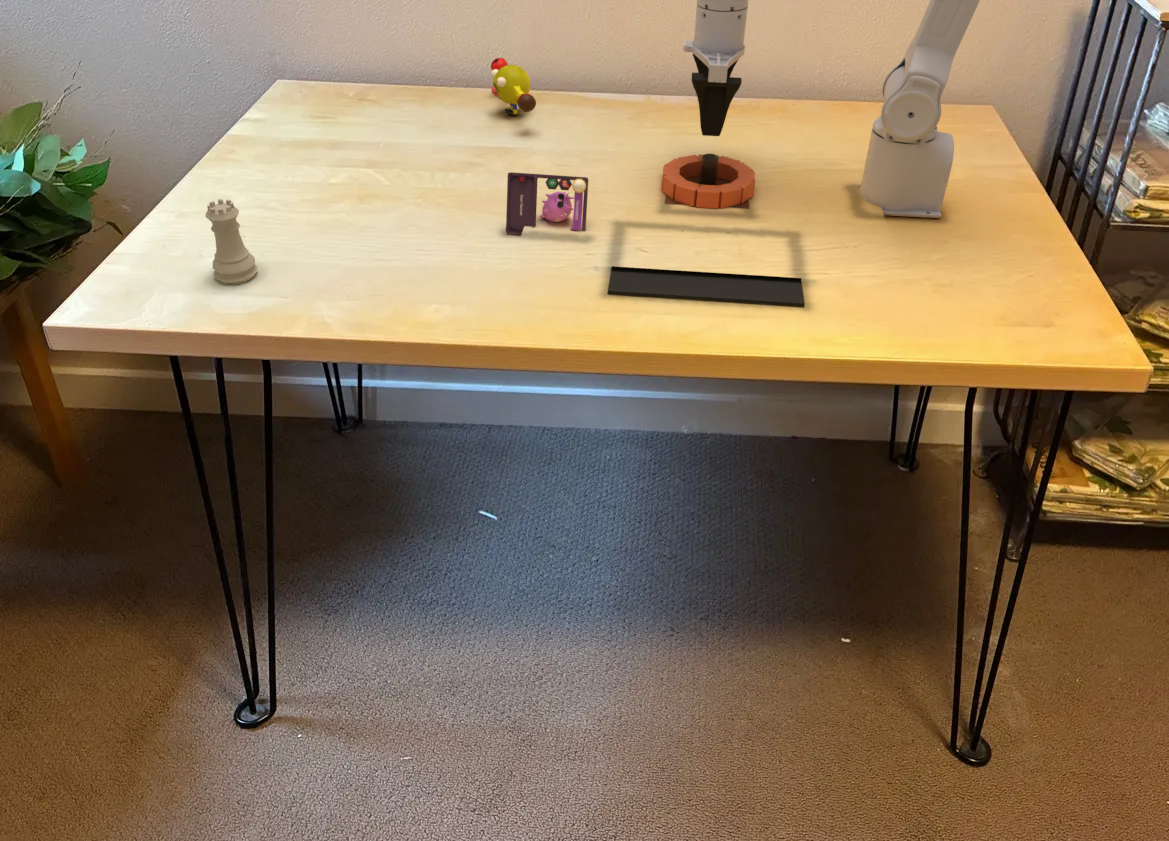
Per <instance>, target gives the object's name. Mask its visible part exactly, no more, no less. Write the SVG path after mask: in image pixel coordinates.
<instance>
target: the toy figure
mask: <svg viewBox="0 0 1169 841" xmlns="http://www.w3.org/2000/svg"><path fill="white" fill-rule="evenodd" d="M490 64H491V65H490V70H491V72H490V76H491V78H493V81H492V82H493V83H492V87H491V90H490V91H491V93H492V95H493V96H494V97H497V98H498V99H499V100H500V101H502V102H503V103H505V104H508V105H509V108H504V111H505V112H506V113H507V116H510V117H517V116H519V113H518V109H519V110H520V111H521V112H523V113H530V112H532V111H533V110H534V109H535V108H536V106H537V101H536V98H535V97H534V96H533V95H532V94H530V90H531V79H530V76H529V74H528V73H527V71H526V70H525V69H524V68H523V67H521V66H519V65H516V64H509V63H508V61H507V60H506V59H504V58H503V57H497V58H495V59H493V60H492V62H491V63H490Z"/></svg>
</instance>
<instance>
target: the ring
mask: <svg viewBox="0 0 1169 841" xmlns="http://www.w3.org/2000/svg"><path fill="white" fill-rule="evenodd" d="M702 155H703V154H701V153H699V154H698V155H697V154H690V155H685V156H679V157H677V158H673V159H672V160H670V161H669V162H667V163H665V164H664V165H663V167H662V176H661V177H662V179H661V192H663V194H666V195H667V196H669V197H670V198H671V199H672V200H674V199H675V201H677V202H680V203H683V204H686V205H685V206H690V207H695V208H703V209H719V208H720V209H723V208H725V207H729V206H734V205H739V204H740V203H744V202H745V201H746V200H748V199H749V200H750V198H753V196H754V192H755V191H754V190H755V184H756V173H755V170H754V169H753V168H751V167H750V166H749V165H747V164H746V163H745V162H743V161H741V160H738V159H734V158H731V157H728V156H724V155H721V156H720V155H719V154H716V155H717V156H718V157H719V159H718V169H717V177H718V178H721V179H725V180H728V181H730V182H731V183H728V184H723V185H700V184H697V183H693V182H690V181H687V180H686V178H690V177H695V176H700V171H701V160H702ZM695 205H696V206H695ZM718 206H719V207H718Z"/></svg>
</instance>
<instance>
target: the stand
mask: <svg viewBox="0 0 1169 841" xmlns="http://www.w3.org/2000/svg"><path fill="white" fill-rule="evenodd" d="M701 155H702V160H701V171H700V176H695V177H690V178H686V180H687V181H690V182H693V183H697V184H700V185H723V184H728V183H731V182H730V181H728V180H725V179H721V178H718V177H717V169H718V159H719V158H720V156H719V157H718V156H717V155H718V154H714V153H705V154H701ZM664 194H665V193H664ZM664 205H672V206H673V205H674V206H675V205H676V206H687V205H686V204H683V203H680V202H677V201H675V199H674V200H672V199H671V198H670V197H669V196H667V195H666V194H665V196H664ZM694 207H696V205H695V206H694ZM718 208H720V207H719V206H718ZM724 208H726V209H741V210H742V209H743V210H745V209H746V210H750V208H751V207H750V198H749V199H748V200H746V201H745V202H744V203H740V204H739V205H734V206H729V207H724Z"/></svg>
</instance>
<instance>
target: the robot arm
mask: <svg viewBox="0 0 1169 841" xmlns="http://www.w3.org/2000/svg"><path fill="white" fill-rule="evenodd" d="M980 1H981V0H929V2H928V5H927V6H926V10H925V12H924V14H923V16H922V19H921V21H920V23H919V26H918V28H917V31H916V33H915V35H914V37H913V39H912V40H911V42H910V43H909V44H908V46H907V48H906V50H905V53H904V54H903V57H902V59H901V60H900V61H899V63H898V64H897V65H895V67H893V68H892V69H891V70H890V71H889V73H887V76H886V77H885V79H884V81H883V84H882V97H883V104H882V106H881V111H880V116H879V117H877V118H876V119H875V120H874V121H873V122H872V128H871V133H870V138H869V143H868V148H867V152H866V157H865V161H864V162H865V163H864V168H863V173H862V177H861V182H860V189H859V195H860V197H861V198H862V199H863V200H864V201H866V202H867V203H870V204H872V205H875V206H878V207H881V211H882V214H883V216H892V217H893V216H895V217H912V218H928V219H929V218H930V219H939V218H941V216H942V213H941V210H942V206H943V203H944V199H945V194H946V191H947V187H948V183H949V178H950V174H951V171H952V168H953V161H954V154H955V140H954V137H953V134H952V133H950V132H943V131H939V130H938V124H939V122H940V120H941V116H942V95H943V93H944V90H945V88H946V86H947V83H948V81H949V76H950V74H951V69H952V66H953V62H954V59H955V56H956V54H957V53H958V52H957V51H958V49H959V47H960V45H961V43H962V40H963V39H964V36H965V34H966V32H967V30H968V27H969V25H970V24H971V21H972V19H973V16H974V15H975V12H976V10H977V7H978V5H979V3H980ZM748 7H749V0H696V10H695V22H694V35H693V40H684V41H683V45H682V46H683V48H682V51H683V52H685V53H692V57H693V59H694V62H695V66H696V69H697V72H691V84H692V87H693V90H694V91H695V94H696V97H697V102H698V109H699V121H700V122H699V123H700V132H701V135H702V136H707V137H708V136H709V137H720V135H721V134H722V131H723V128H724V125H725V122H726V119H727V114H728V111H729V108H730V105H731V103H732V101H733V100H734V98H735V95H736V94H737V93H738V91H739V89H740V88H741V85H742V81H743V80H742V77H731V75H732V72H733V70H734V69H735V67H736V65H737V63H738V61H739V60H740V58H742V57H743V56H744V55H745V51H746V50H745V49H746V45H745V35H746V26H747V18H748Z"/></svg>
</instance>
